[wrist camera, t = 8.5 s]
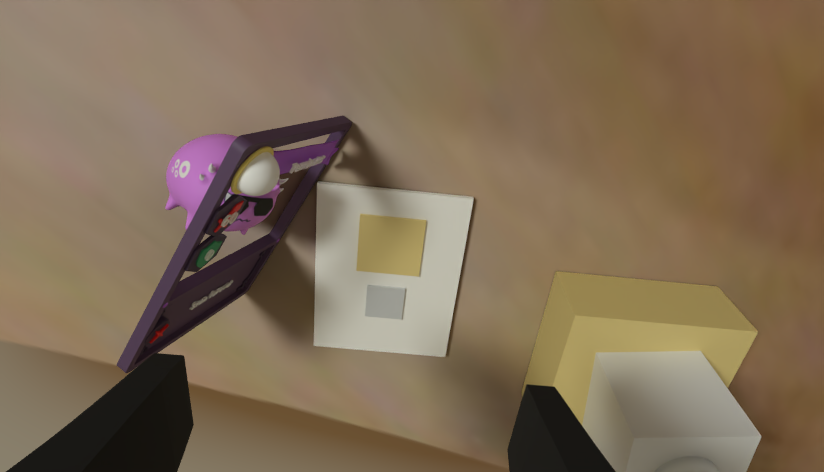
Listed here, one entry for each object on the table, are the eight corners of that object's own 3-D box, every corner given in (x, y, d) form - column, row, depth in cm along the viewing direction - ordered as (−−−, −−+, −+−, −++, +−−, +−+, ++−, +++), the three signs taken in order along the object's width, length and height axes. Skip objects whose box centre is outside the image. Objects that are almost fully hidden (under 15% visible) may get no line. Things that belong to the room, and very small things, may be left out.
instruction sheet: (473, 196, 20) (473, 200, 20) (444, 354, 24) (445, 358, 24) (317, 181, 20) (316, 184, 20) (314, 342, 24) (313, 347, 23)
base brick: (717, 286, 22) (758, 331, 19) (661, 404, 25) (690, 456, 23) (555, 271, 22) (575, 315, 19) (521, 392, 25) (533, 444, 23)
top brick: (700, 350, 20) (777, 458, 16) (677, 423, 22) (740, 537, 18) (595, 352, 20) (643, 459, 16) (581, 425, 22) (621, 537, 18)
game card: (142, 391, 16) (270, 164, 13) (16, 286, 16) (107, 34, 13) (260, 303, 22) (370, 133, 19) (168, 227, 23) (258, 46, 19)
